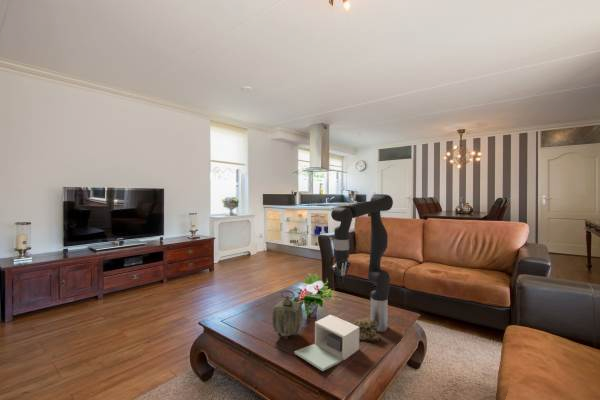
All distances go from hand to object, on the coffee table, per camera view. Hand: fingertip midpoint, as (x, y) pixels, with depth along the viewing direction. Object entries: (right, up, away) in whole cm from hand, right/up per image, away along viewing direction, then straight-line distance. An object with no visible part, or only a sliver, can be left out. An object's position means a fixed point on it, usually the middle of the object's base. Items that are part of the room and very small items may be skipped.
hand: (340, 282), depth 136 cm
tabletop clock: (-27, -32, +9) cm, 43 cm away
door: (-7, -31, -6) cm, 33 cm away
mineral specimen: (+13, -32, +9) cm, 36 cm away
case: (-2, -32, -1) cm, 32 cm away
